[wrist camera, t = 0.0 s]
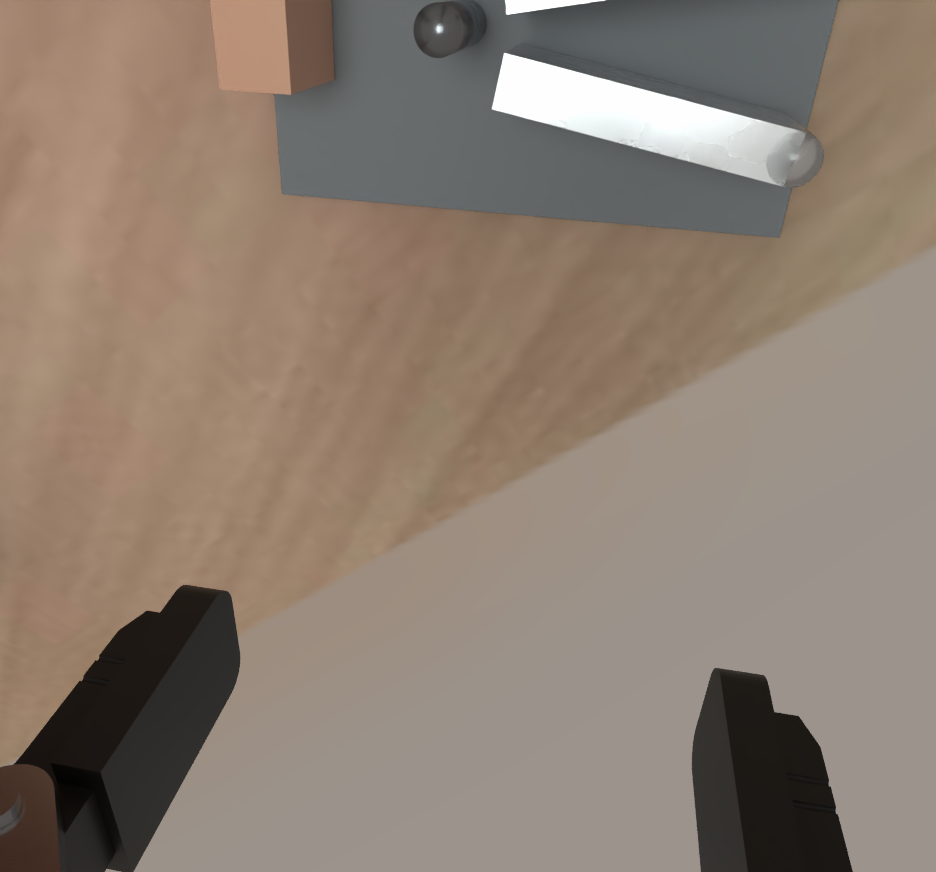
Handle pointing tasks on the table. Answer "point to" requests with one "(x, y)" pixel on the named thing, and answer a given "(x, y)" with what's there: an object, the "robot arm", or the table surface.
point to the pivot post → (449, 27)
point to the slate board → (539, 144)
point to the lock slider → (273, 44)
